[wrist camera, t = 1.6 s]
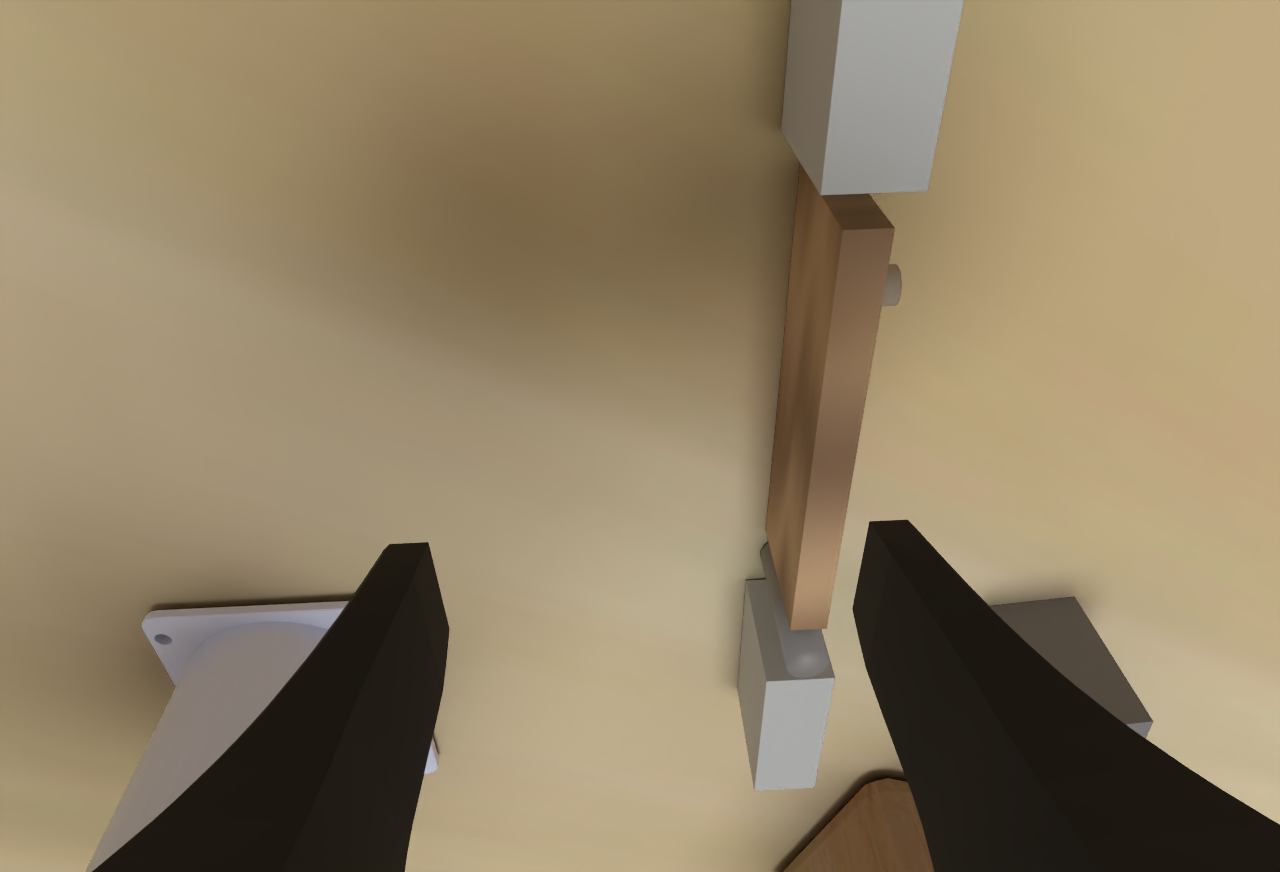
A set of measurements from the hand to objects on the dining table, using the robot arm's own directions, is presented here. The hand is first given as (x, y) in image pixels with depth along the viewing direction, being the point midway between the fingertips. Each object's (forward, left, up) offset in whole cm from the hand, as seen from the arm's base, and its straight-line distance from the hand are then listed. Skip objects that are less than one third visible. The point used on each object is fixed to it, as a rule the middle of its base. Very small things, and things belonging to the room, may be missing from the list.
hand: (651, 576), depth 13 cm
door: (-2, -5, -9) cm, 11 cm away
